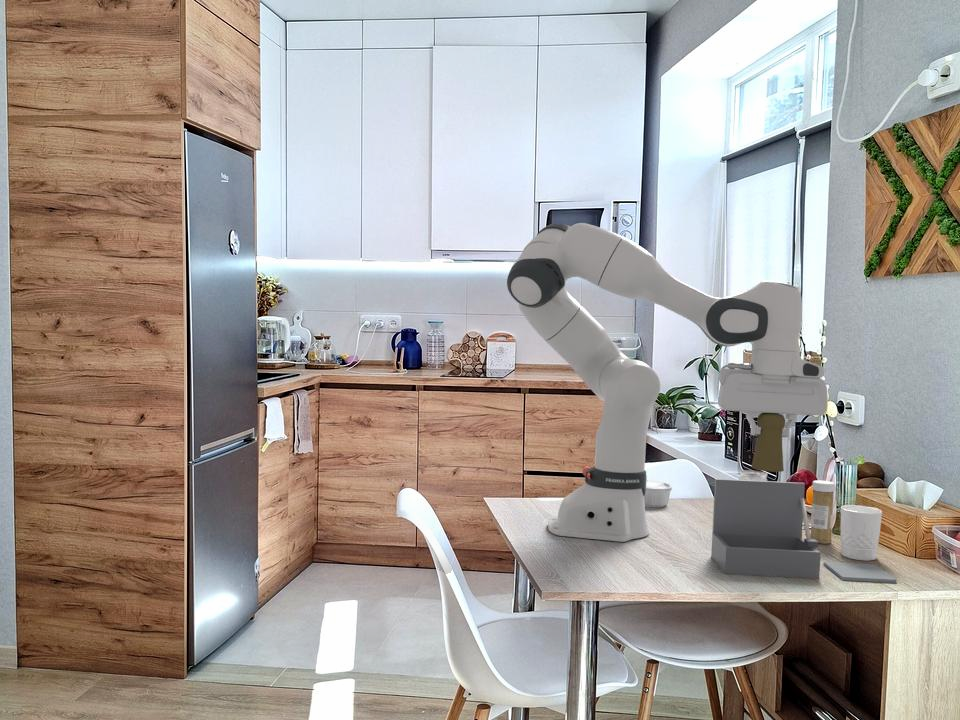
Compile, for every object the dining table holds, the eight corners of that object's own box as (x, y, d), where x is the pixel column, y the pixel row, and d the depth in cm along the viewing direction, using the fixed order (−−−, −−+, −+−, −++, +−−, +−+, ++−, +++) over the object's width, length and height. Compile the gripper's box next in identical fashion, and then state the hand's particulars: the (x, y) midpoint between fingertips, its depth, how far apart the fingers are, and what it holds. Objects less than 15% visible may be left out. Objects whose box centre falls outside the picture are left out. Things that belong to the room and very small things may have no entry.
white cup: (863, 551, 181) (866, 504, 181) (887, 561, 173) (890, 513, 173) (830, 551, 180) (833, 504, 179) (852, 562, 172) (855, 513, 172)
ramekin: (675, 509, 216) (676, 489, 216) (631, 508, 216) (632, 487, 215) (665, 500, 227) (666, 480, 227) (623, 498, 227) (624, 479, 227)
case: (724, 573, 160) (729, 490, 160) (711, 556, 172) (715, 478, 171) (822, 578, 160) (827, 494, 159) (802, 561, 171) (806, 482, 170)
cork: (780, 473, 161) (785, 415, 160) (748, 468, 164) (752, 412, 163) (786, 469, 166) (790, 413, 165) (754, 464, 169) (759, 410, 168)
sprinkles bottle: (835, 542, 187) (839, 482, 186) (823, 545, 185) (826, 484, 184) (817, 538, 191) (820, 479, 190) (804, 540, 188) (808, 480, 188)
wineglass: (743, 525, 200) (746, 475, 200) (731, 518, 207) (733, 470, 207) (770, 525, 201) (773, 475, 201) (757, 518, 208) (759, 470, 208)
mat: (842, 580, 159) (842, 576, 159) (823, 564, 169) (823, 561, 169) (896, 582, 159) (896, 579, 159) (874, 567, 169) (874, 564, 169)
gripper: (724, 363, 161) (719, 435, 162) (833, 369, 160) (828, 441, 161) (716, 361, 167) (712, 430, 168) (821, 367, 167) (816, 436, 167)
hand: (769, 436), depth 165 cm, fingers closed on cork, 4 cm apart
